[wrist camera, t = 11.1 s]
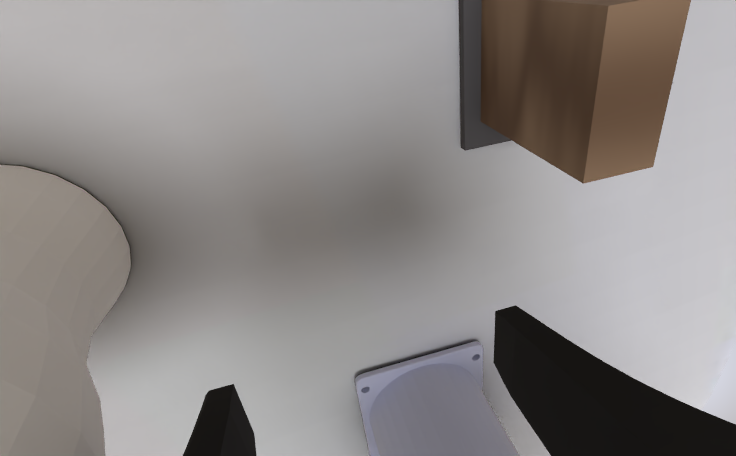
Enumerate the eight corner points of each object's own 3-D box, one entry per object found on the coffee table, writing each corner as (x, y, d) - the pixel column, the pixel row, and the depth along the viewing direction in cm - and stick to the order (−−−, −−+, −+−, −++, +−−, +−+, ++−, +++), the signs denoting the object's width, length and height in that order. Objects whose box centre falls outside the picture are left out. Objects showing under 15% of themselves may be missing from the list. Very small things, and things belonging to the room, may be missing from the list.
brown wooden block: (531, 110, 20) (652, 166, 14) (480, 121, 20) (582, 183, 14) (540, -14, 18) (692, -10, 12) (481, -5, 17) (608, 5, 11)
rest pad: (539, 130, 21) (544, 133, 21) (461, 147, 21) (464, 150, 20) (553, -40, 18) (559, -40, 17) (458, -25, 17) (463, -26, 17)
